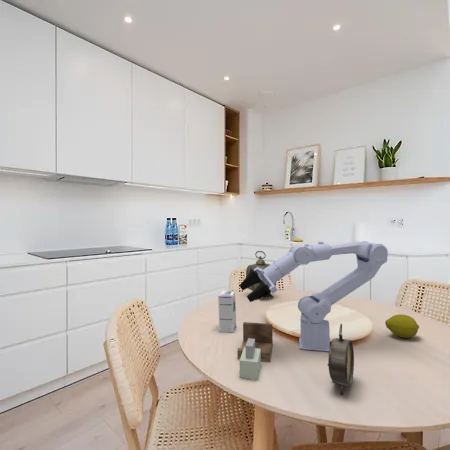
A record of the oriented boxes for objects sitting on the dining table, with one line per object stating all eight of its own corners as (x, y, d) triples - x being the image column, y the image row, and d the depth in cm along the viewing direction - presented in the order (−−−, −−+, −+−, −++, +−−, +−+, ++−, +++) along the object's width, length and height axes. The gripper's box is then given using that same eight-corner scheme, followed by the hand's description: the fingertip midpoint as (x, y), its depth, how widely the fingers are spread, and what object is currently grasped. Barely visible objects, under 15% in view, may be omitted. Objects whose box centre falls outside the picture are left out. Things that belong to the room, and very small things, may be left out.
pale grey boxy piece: (260, 365, 87) (260, 337, 87) (257, 380, 79) (257, 349, 79) (244, 363, 88) (244, 335, 88) (239, 378, 81) (239, 347, 80)
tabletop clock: (276, 298, 154) (276, 251, 153) (265, 302, 147) (265, 253, 146) (255, 293, 164) (255, 249, 163) (244, 296, 158) (244, 250, 157)
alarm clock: (348, 399, 70) (348, 333, 70) (325, 392, 73) (325, 329, 73) (355, 377, 80) (355, 319, 79) (334, 372, 83) (334, 315, 82)
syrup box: (233, 332, 111) (233, 295, 110) (218, 331, 112) (218, 294, 111) (236, 327, 116) (235, 291, 116) (221, 326, 117) (221, 290, 117)
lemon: (416, 334, 107) (416, 312, 106) (423, 343, 99) (423, 320, 99) (383, 330, 110) (383, 310, 110) (387, 339, 103) (387, 317, 102)
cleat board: (272, 343, 101) (272, 324, 100) (269, 362, 89) (269, 339, 88) (244, 341, 103) (243, 322, 103) (237, 358, 91) (237, 336, 91)
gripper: (264, 253, 102) (232, 275, 101) (282, 270, 89) (245, 296, 88) (272, 267, 105) (241, 289, 104) (292, 286, 91) (256, 311, 91)
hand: (244, 293), depth 96 cm, fingers open, 7 cm apart
